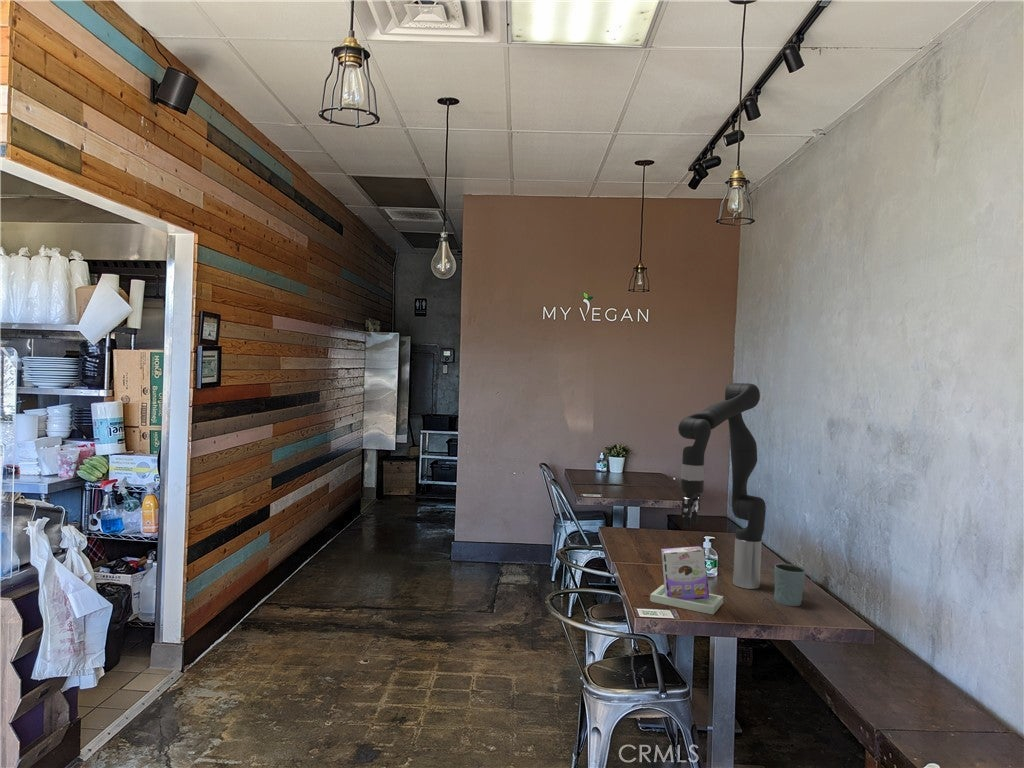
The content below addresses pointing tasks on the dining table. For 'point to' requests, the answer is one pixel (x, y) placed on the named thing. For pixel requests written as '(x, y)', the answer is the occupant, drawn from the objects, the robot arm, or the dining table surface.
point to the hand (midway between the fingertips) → (690, 526)
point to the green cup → (788, 584)
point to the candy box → (685, 573)
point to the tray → (688, 601)
